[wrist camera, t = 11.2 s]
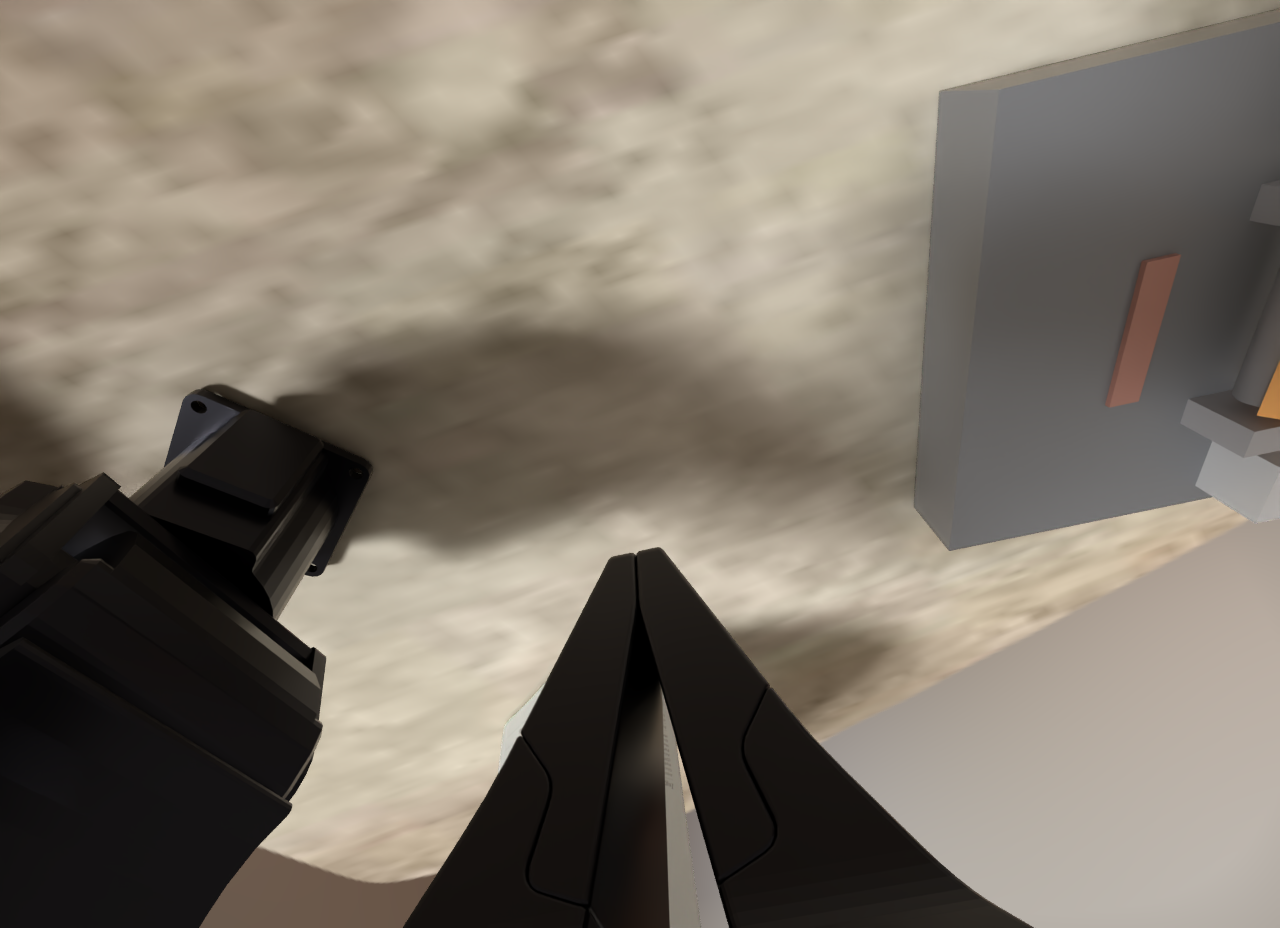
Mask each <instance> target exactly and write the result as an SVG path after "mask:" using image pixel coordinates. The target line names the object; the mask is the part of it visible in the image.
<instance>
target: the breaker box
mask: <svg viewBox="0 0 1280 928" xmlns="http://www.w3.org/2000/svg"><path fill="white" fill-rule="evenodd" d="M1279 268H1280V9H1276V10H1272V11H1268V12H1264V13H1260V14H1256V15H1252V16H1248V17H1243V18H1239V19H1235V20H1231V21H1227V22H1223V23H1219V24H1215V25H1210V26H1206V27H1202V28H1198V29H1194V30H1190V31H1186V32H1182V33H1177V34H1173V35H1169V36H1165V37H1161V38H1157V39H1153V40H1149V41H1144V42H1140V43H1136V44H1132V45H1128V46H1124V47H1120V48H1116V49H1111V50H1107V51H1103V52H1099V53H1095V54H1091V55H1087V56H1083V57H1078V58H1074V59H1070V60H1066V61H1062V62H1058V63H1054V64H1050V65H1046V66H1041V67H1037V68H1033V69H1029V70H1025V71H1021V72H1017V73H1013V74H1008V75H1004V76H1000V77H996V78H992V79H988V80H984V81H980V82H975V83H971V84H967V85H963V86H959V87H955V88H951V89H947V90H942V91H939V107H938V123H937V140H936V156H935V172H934V189H933V205H932V221H931V237H930V254H929V270H928V286H927V302H926V319H925V335H924V351H923V368H922V384H921V400H920V416H919V433H918V449H917V465H916V482H915V498H914V508H915V509H916V510H917V511H918V513H919V514H920V515H921V516H922V518H923V519H924V520H925V521H926V523H927V524H928V525H929V526H930V528H931V529H932V530H933V531H934V533H935V534H936V535H937V536H938V538H939V539H940V540H941V541H942V543H943V544H944V545H945V546H946V548H947V549H948V550H949V551H951V550H956V549H961V548H966V547H971V546H976V545H981V544H986V543H990V542H995V541H1000V540H1005V539H1010V538H1015V537H1020V536H1025V535H1030V534H1034V533H1039V532H1044V531H1049V530H1054V529H1059V528H1064V527H1069V526H1073V525H1078V524H1083V523H1088V522H1093V521H1098V520H1103V519H1108V518H1113V517H1117V516H1122V515H1127V514H1132V513H1137V512H1142V511H1147V510H1152V509H1156V508H1161V507H1166V506H1171V505H1176V504H1181V503H1186V502H1191V501H1195V500H1200V499H1205V498H1210V497H1214V498H1215V499H1217V500H1219V501H1220V502H1222V503H1223V504H1225V505H1226V506H1228V507H1230V508H1231V509H1233V510H1234V511H1236V512H1237V513H1239V514H1241V515H1242V516H1244V517H1245V518H1247V519H1248V520H1250V521H1252V522H1253V523H1261V522H1266V521H1271V520H1276V519H1280V419H1274V418H1268V417H1262V416H1257V413H1258V411H1259V408H1260V407H1257V406H1253V405H1249V404H1246V403H1243V402H1241V401H1239V400H1237V399H1235V398H1234V397H1233V396H1232V390H1233V388H1234V385H1235V382H1236V380H1237V377H1238V375H1239V372H1240V369H1241V367H1242V364H1243V362H1244V359H1245V356H1246V354H1247V351H1248V349H1249V346H1250V343H1251V341H1252V338H1253V336H1254V333H1255V330H1256V328H1257V325H1258V323H1259V320H1260V317H1261V315H1262V312H1263V309H1264V307H1265V304H1266V302H1267V299H1268V296H1269V294H1270V291H1271V289H1272V286H1273V283H1274V281H1275V278H1276V276H1277V273H1278V270H1279Z"/></svg>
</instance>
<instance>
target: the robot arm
mask: <svg viewBox="0 0 1280 928" xmlns="http://www.w3.org/2000/svg"><path fill="white" fill-rule="evenodd" d="M197 401H201V402H202V403H204V404H205V406H206V407H207V408H203V407H202V406H200V405H199V404H198V402H197ZM353 468H357V469H359V470H361V471H362V473H361V474H360V473H357V472H355V471H354V470H353ZM372 472H373V468H372V465H371V464H370V463H369V461H367V460H365V459H364V458H361V457H359V456H357V455H354V454H352V453H350V452H348V451H345V450H343V449H341V448H338V447H336V446H334V445H331V444H329V443H327V442H324V441H322V440H320V439H318V438H317V437H314V436H312V435H310V434H307V433H305V432H303V431H300V430H298V429H296V428H293V427H291V426H289V425H287V424H284V423H282V422H280V421H277V420H275V419H273V418H270V417H268V416H266V415H264V414H261V413H259V412H257V411H254V410H251V409H249V408H246V407H244V406H242V405H239V404H237V403H235V402H232V401H230V400H228V399H225V398H223V397H221V396H219V395H216V394H214V393H212V392H209V391H206V390H203V389H199V390H195V391H193V392H191V393H190V394H188V395H187V396H186V397H185V398H184V400H183V402H182V406H181V409H180V413H179V416H178V420H177V423H176V427H175V430H174V434H173V437H172V441H171V444H170V448H169V451H168V455H167V458H166V462H165V465H164V468H163V469H162V470H161V471H160V472H158V473H157V474H156V475H155V476H154V477H153V478H151V479H150V480H149V481H148V482H147V483H146V484H144V485H143V486H142V487H141V488H140V489H139V490H137V491H136V492H135V493H134V494H133V495H132V496H131V497H129V498H128V497H126V496H125V495H124V494H123V493H122V492H120V491H119V490H118V489H119V488H120V487H121V486H120V485H118V484H117V483H116V482H115V481H114V480H112V479H111V478H110V477H109V476H107V475H106V474H105V473H101V474H99V475H97V476H95V477H94V478H92V479H90V480H88V481H86V482H84V483H82V484H80V485H77V484H76V483H73V484H71V485H68V486H66V487H63V486H62V485H61V486H59V487H55V486H50V485H45V484H40V483H35V482H30V481H24V482H23V483H21V484H19V485H17V486H15V487H13V488H11V489H10V490H8V491H7V492H5V493H4V494H2V495H1V496H0V928H199V927H200V925H201V924H202V922H203V920H204V919H205V917H206V916H207V914H208V912H209V911H210V909H211V908H212V906H213V905H214V903H215V902H216V900H217V899H218V897H219V896H220V894H221V893H222V891H223V890H224V888H225V887H226V885H227V884H228V883H229V882H230V880H231V879H232V878H233V876H234V875H235V874H236V873H237V871H238V870H239V869H240V868H241V866H242V865H243V864H244V863H245V861H246V860H247V859H248V858H249V856H250V855H251V854H252V852H253V851H254V850H255V849H256V848H257V847H258V846H259V844H260V843H261V842H262V841H263V840H264V839H265V838H266V837H267V836H268V835H269V834H270V833H271V832H272V831H273V830H274V829H275V828H276V827H277V826H278V825H279V824H280V823H281V822H282V821H283V820H284V819H285V818H286V817H287V816H288V814H289V813H290V811H291V809H292V804H291V803H290V802H289V801H290V799H291V798H292V797H293V795H294V794H295V793H296V791H297V789H298V788H299V786H300V784H301V783H302V781H303V779H304V777H305V776H306V774H307V771H308V769H309V766H310V764H311V762H312V759H313V755H314V751H315V749H316V746H317V744H318V742H319V740H320V738H321V733H322V727H323V725H322V723H321V722H320V721H319V714H320V705H321V697H322V689H323V681H324V672H325V664H326V656H324V655H323V654H322V653H321V652H320V651H318V650H317V649H316V648H314V647H313V648H310V647H308V646H307V645H306V644H305V643H303V642H302V641H301V640H300V639H299V638H297V637H296V636H295V635H294V634H293V633H291V632H290V631H289V630H288V629H287V628H285V627H284V626H283V625H282V624H280V623H279V622H278V621H277V620H278V618H279V616H280V615H281V613H282V611H283V610H284V608H285V606H286V605H287V603H288V601H289V600H290V598H291V596H292V595H293V593H294V591H295V590H296V588H297V586H298V585H299V583H300V581H301V580H302V578H303V576H304V575H307V576H312V577H313V576H319V575H321V574H322V573H323V572H324V570H325V568H326V566H327V564H328V562H329V560H330V558H331V556H332V554H333V552H334V550H335V548H336V546H337V544H338V542H339V540H340V538H341V536H342V534H343V532H344V530H345V528H346V526H347V524H348V522H349V520H350V518H351V516H352V513H353V511H354V509H355V507H356V505H357V503H358V501H359V499H360V497H361V495H362V493H363V491H364V489H365V487H366V485H367V483H368V481H369V479H370V477H371V475H372ZM311 563H312V564H314V565H316V566H313V565H311ZM662 692H663V696H664V699H665V703H666V706H667V710H668V713H669V717H670V720H671V724H672V727H673V731H674V735H675V738H676V742H677V745H678V749H679V752H680V756H681V759H682V763H683V766H684V770H685V773H686V777H687V780H688V784H689V787H690V791H691V795H692V798H693V802H694V805H695V809H696V812H697V816H698V819H699V822H700V826H701V830H702V833H703V837H704V840H705V844H706V848H707V851H708V854H709V858H710V861H711V865H712V869H713V872H714V876H715V879H716V883H717V886H718V889H719V893H720V897H721V900H722V904H723V908H724V911H725V915H726V918H727V922H728V925H729V928H1034V927H1032V926H1030V925H1029V924H1027V923H1025V922H1024V921H1022V920H1020V919H1018V918H1017V917H1015V916H1013V915H1012V914H1010V913H1008V912H1007V911H1005V910H1003V909H1001V908H1000V907H998V906H996V905H995V904H993V903H992V902H990V901H988V900H987V899H985V898H984V897H982V896H981V895H979V894H978V893H977V892H975V891H974V890H972V889H971V888H970V887H969V886H967V885H966V884H965V883H963V882H962V881H961V880H960V879H958V878H957V877H956V876H955V875H954V874H952V873H951V872H950V871H949V870H948V869H947V868H946V867H944V866H943V865H942V864H941V863H940V862H939V861H938V860H936V859H935V858H934V857H933V856H932V855H931V854H930V853H929V852H928V851H927V850H926V849H925V848H924V847H923V846H922V845H921V844H920V843H919V842H918V841H917V840H916V839H914V837H913V836H912V835H911V834H910V833H908V832H907V831H906V830H905V829H904V828H903V827H902V826H901V825H900V824H899V823H898V822H897V821H896V820H895V819H894V818H893V817H892V816H891V815H890V814H889V813H888V812H887V811H886V810H885V809H884V808H883V807H882V806H881V805H880V804H879V803H878V802H877V801H876V800H875V799H874V798H873V797H871V795H870V794H869V793H868V792H867V791H866V790H865V789H864V788H863V787H862V786H861V785H859V784H858V783H857V781H856V780H854V779H853V778H852V777H851V776H850V775H849V774H848V773H847V772H846V771H845V770H844V769H843V768H842V767H841V766H840V765H839V764H838V763H837V761H835V759H834V758H833V757H832V756H831V755H830V754H829V753H828V752H827V751H826V750H825V749H824V748H823V747H822V746H821V745H820V744H819V743H818V742H817V741H816V740H815V739H814V737H813V736H812V735H811V734H810V733H809V732H808V730H807V729H806V728H805V727H804V726H803V725H802V723H801V722H800V721H799V720H798V719H797V718H796V716H795V715H794V714H793V713H792V712H791V710H790V709H789V708H788V707H787V706H786V704H785V703H784V702H783V701H782V699H781V698H780V697H779V695H778V694H777V693H776V692H775V690H774V689H773V688H770V685H769V683H768V682H767V681H766V679H765V678H764V677H763V676H762V674H761V673H760V672H759V671H758V669H757V668H756V667H755V666H754V664H753V663H752V662H751V660H750V659H749V658H748V657H747V655H746V654H745V653H744V652H743V650H742V649H741V648H740V646H739V645H738V644H737V643H736V641H735V640H734V639H733V638H732V636H731V635H730V634H729V633H728V631H727V630H726V629H725V627H724V626H723V625H722V624H721V622H720V621H719V620H718V619H717V617H716V616H715V615H714V614H713V612H712V611H711V610H710V608H709V607H708V606H707V605H706V603H705V602H704V601H703V600H702V598H701V597H700V596H699V595H698V593H697V592H696V591H695V589H694V588H693V587H692V586H691V584H690V583H689V582H688V581H687V579H686V578H685V577H684V576H683V574H682V573H681V572H680V570H679V569H678V568H677V567H676V565H675V564H674V563H673V562H672V560H671V559H670V558H669V557H668V555H667V554H666V553H665V551H664V550H663V549H661V548H659V547H657V548H652V549H647V550H642V551H639V552H638V553H637V555H635V554H634V553H628V554H623V555H618V556H613V557H611V558H610V559H609V560H608V562H607V564H606V566H605V568H604V570H603V572H602V574H601V576H600V578H599V580H598V582H597V584H596V586H595V588H594V589H593V591H592V593H591V595H590V597H589V599H588V601H587V603H586V605H585V607H584V609H583V611H582V613H581V615H580V617H579V619H578V621H577V623H576V625H575V626H574V628H573V630H572V632H571V634H570V636H569V638H568V640H567V642H566V644H565V646H564V648H563V650H562V652H561V654H560V656H559V658H558V660H557V662H556V663H555V665H554V667H553V669H552V671H551V673H550V675H549V677H548V679H547V681H546V683H545V685H544V687H543V689H542V691H541V693H540V695H539V697H538V699H537V701H536V702H535V704H534V706H533V708H532V710H531V712H530V714H529V716H528V718H527V720H526V722H525V724H524V726H523V728H522V730H521V736H518V737H517V739H516V741H515V743H514V745H513V747H512V749H511V751H510V753H509V755H508V756H507V758H506V760H505V762H504V764H503V766H502V768H501V770H500V771H499V773H498V775H497V777H496V779H495V780H494V782H493V784H492V786H491V788H490V790H489V791H488V793H487V795H486V797H485V799H484V800H483V802H482V803H481V805H480V807H479V808H478V810H477V812H476V813H475V815H474V816H473V818H472V820H471V821H470V823H469V825H468V826H467V828H466V830H465V831H464V833H463V834H462V836H461V838H460V839H459V841H458V842H457V844H456V845H455V847H454V849H453V850H452V852H451V853H450V855H449V856H448V858H447V859H446V861H445V863H444V864H443V866H442V867H441V869H440V870H439V872H438V873H437V875H436V877H435V878H434V880H433V881H432V883H431V884H430V886H429V888H428V889H427V891H426V892H425V894H424V895H423V897H422V898H421V900H420V901H419V903H418V905H417V906H416V908H415V909H414V911H413V912H412V914H411V915H410V917H409V919H408V920H407V922H406V923H405V925H404V927H403V928H670V917H669V887H668V856H667V826H666V795H665V765H664V734H663V704H662Z"/></svg>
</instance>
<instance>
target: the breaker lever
mask: <svg viewBox="0 0 1280 928" xmlns="http://www.w3.org/2000/svg"><path fill="white" fill-rule="evenodd" d="M1232 396H1233V397H1234V398H1235V399H1237V400H1239V401H1241V402H1243V403H1246V404H1249V405H1253V406H1257V407H1260V408H1259V411H1258V413H1257V416H1262V417H1268V418H1274V419H1280V268H1279V270H1278V273H1277V276H1276V278H1275V281H1274V283H1273V286H1272V289H1271V291H1270V294H1269V296H1268V299H1267V302H1266V304H1265V307H1264V309H1263V312H1262V315H1261V317H1260V320H1259V323H1258V325H1257V328H1256V330H1255V333H1254V336H1253V338H1252V341H1251V343H1250V346H1249V349H1248V351H1247V354H1246V356H1245V359H1244V362H1243V364H1242V367H1241V369H1240V372H1239V375H1238V377H1237V380H1236V382H1235V385H1234V388H1233V390H1232Z"/></svg>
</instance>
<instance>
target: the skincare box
mask: <svg viewBox="0 0 1280 928" xmlns="http://www.w3.org/2000/svg"><path fill="white" fill-rule="evenodd" d="M545 683H546V682H545ZM545 683H544V684H543V686H542V687H541V688H540V689H539V690H538V691H537V692H536V693H535V694H534V695H533V696H532V698H531V699H530V700H529V701H528V702H527V703H526V704H525V705H524V706H523V707H522V708H521V709H520V710H519V711H518V712H517V713H516V714H515V715H513V716H512V717H511V718H510V719H509V720H508V721H507V723H506V724H505V726H504V730H503V737H502V745H501V753H500V761H499V769H498V773H499V771H500V770H501V768H502V766H503V764H504V762H505V760H506V758H507V756H508V755H509V753H510V751H511V749H512V747H513V745H514V743H515V741H516V739H517V737H518V736H521V730H522V728H523V726H524V724H525V722H526V720H527V718H528V716H529V714H530V712H531V710H532V708H533V706H534V704H535V702H536V701H537V699H538V697H539V695H540V693H541V691H542V689H543V687H544V685H545ZM662 704H663V734H664V765H665V795H666V826H667V856H668V887H669V917H670V928H701V924H700V916H699V908H698V902H697V895H696V888H695V879H694V871H693V864H692V857H691V850H690V843H689V834H688V828H687V821H686V814H685V806H684V798H683V790H682V783H681V775H680V767H679V760H678V753H677V745H676V738H675V735H674V731H673V727H672V724H671V720H670V717H669V713H668V710H667V706H666V703H665V699H664V696H663V692H662Z"/></svg>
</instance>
